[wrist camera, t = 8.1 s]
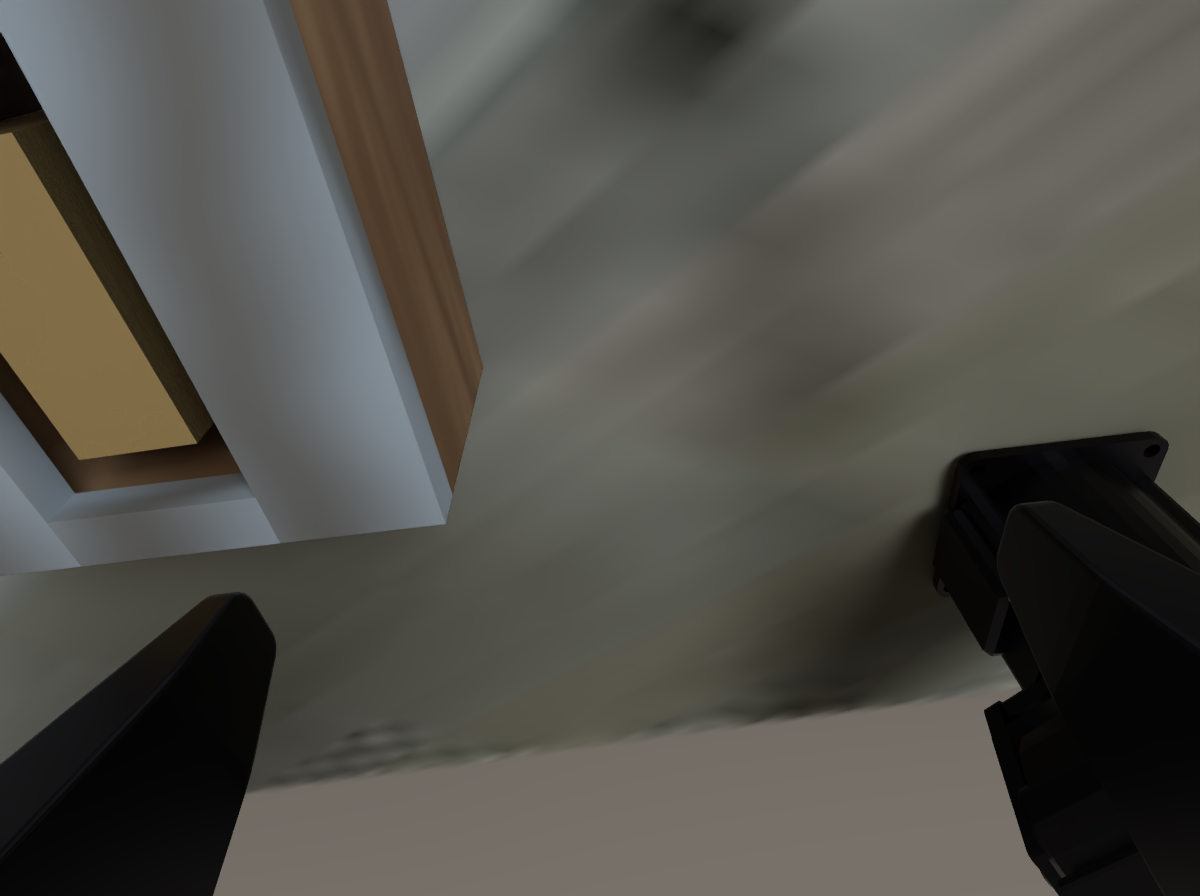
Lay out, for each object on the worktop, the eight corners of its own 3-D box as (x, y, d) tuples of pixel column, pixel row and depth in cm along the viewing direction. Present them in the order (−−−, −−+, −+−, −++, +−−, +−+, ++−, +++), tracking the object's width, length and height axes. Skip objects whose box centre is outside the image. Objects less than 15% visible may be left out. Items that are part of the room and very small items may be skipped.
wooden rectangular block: (200, 76, 16) (11, 132, 11) (301, 312, 20) (197, 443, 14) (95, 95, 16) (-141, 159, 11) (214, 326, 20) (78, 460, 14)
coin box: (361, -96, 14) (215, -136, 9) (483, 368, 21) (445, 524, 15) (-175, -5, 15) (-643, 15, 9) (101, 417, 21) (-74, 584, 16)
